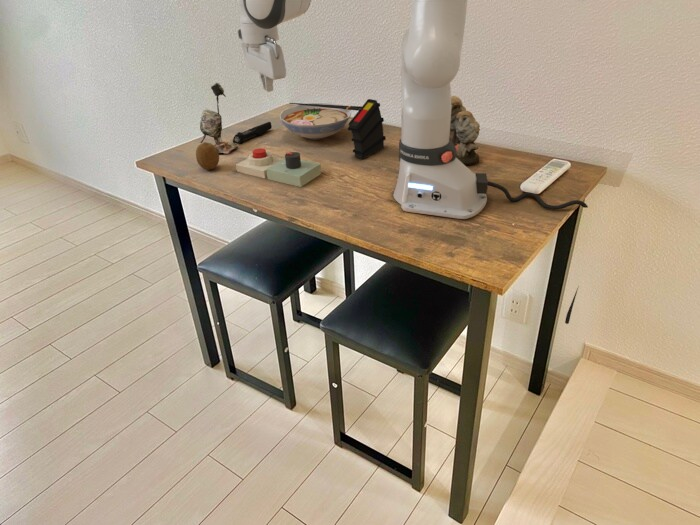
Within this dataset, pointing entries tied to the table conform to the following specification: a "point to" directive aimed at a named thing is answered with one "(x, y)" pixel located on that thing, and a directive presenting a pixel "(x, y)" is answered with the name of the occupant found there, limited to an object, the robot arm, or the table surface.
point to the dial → (292, 160)
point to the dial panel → (294, 173)
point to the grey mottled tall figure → (214, 124)
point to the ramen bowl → (316, 119)
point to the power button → (259, 153)
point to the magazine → (367, 130)
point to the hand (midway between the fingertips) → (268, 90)
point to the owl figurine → (463, 132)
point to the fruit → (207, 156)
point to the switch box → (257, 165)
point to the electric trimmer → (251, 133)
